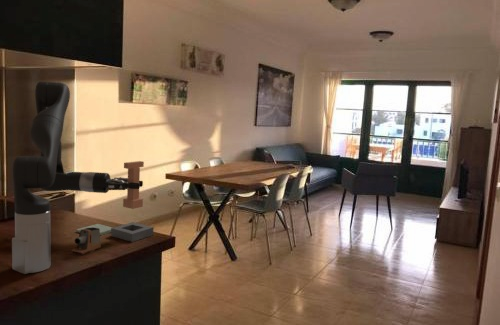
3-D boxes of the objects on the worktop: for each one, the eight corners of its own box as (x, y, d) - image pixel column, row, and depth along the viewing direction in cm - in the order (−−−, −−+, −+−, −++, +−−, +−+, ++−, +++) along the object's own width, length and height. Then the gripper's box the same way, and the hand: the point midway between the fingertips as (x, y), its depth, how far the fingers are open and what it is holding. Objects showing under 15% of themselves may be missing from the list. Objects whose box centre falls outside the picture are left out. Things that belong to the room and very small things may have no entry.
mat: (94, 237, 153) (94, 234, 153) (76, 231, 158) (76, 229, 158) (115, 230, 162) (115, 228, 162) (97, 226, 166) (97, 223, 166)
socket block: (132, 241, 150) (132, 233, 150) (110, 236, 155) (111, 228, 155) (153, 234, 160) (153, 227, 159) (132, 229, 165) (132, 222, 164)
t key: (129, 209, 151) (131, 163, 149) (120, 207, 154) (121, 162, 151) (145, 205, 158) (146, 162, 156) (135, 203, 161) (136, 160, 158)
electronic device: (70, 254, 135) (71, 231, 134) (90, 245, 144) (91, 224, 143) (81, 256, 134) (82, 233, 133) (101, 247, 143) (101, 226, 142)
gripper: (88, 175, 147) (136, 178, 147) (101, 169, 161) (145, 172, 161) (87, 196, 148) (135, 198, 148) (101, 188, 162) (145, 191, 162)
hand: (140, 184), depth 155 cm, fingers closed on t key, 4 cm apart
